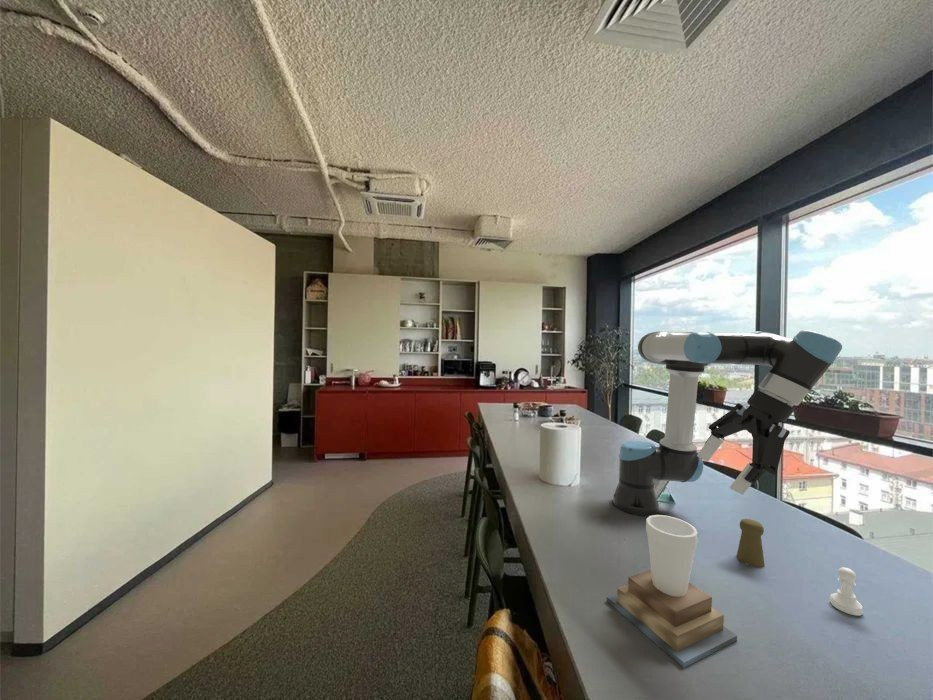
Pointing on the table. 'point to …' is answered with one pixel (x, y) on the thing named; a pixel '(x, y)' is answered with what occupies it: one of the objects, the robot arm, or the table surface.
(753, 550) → the cork
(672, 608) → the stepped wooden pedestal
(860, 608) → the chess pawn
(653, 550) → the foam cup
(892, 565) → the table surface
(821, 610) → the table surface
